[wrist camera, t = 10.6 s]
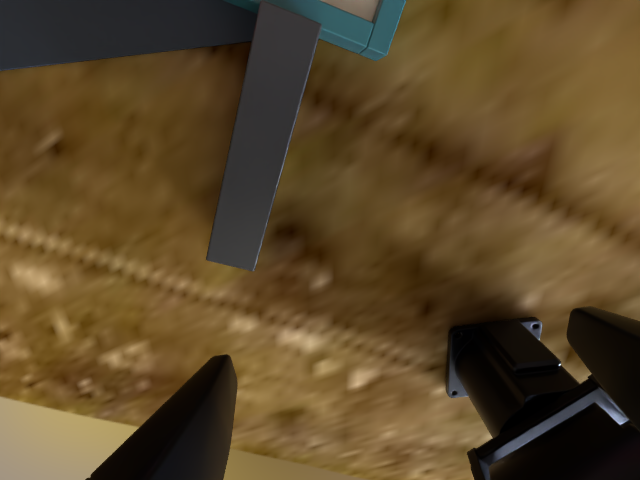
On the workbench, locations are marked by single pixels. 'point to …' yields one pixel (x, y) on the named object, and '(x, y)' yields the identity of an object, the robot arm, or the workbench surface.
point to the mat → (114, 28)
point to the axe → (282, 105)
